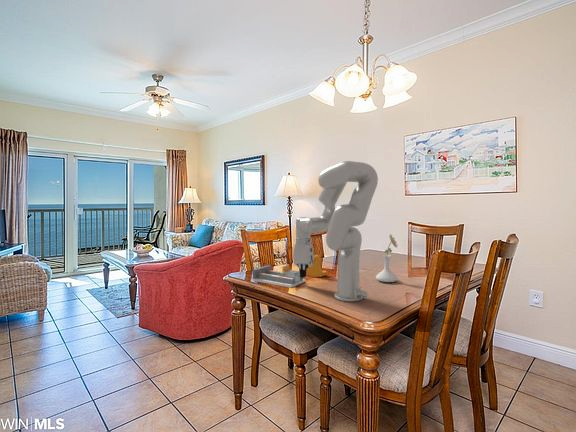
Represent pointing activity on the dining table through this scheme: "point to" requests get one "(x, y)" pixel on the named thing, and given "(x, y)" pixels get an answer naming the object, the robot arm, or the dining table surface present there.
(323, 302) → the dining table surface
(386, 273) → the flower in vase
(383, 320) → the dining table surface
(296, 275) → the gauge carriage
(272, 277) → the scale board
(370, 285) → the dining table surface
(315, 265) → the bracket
